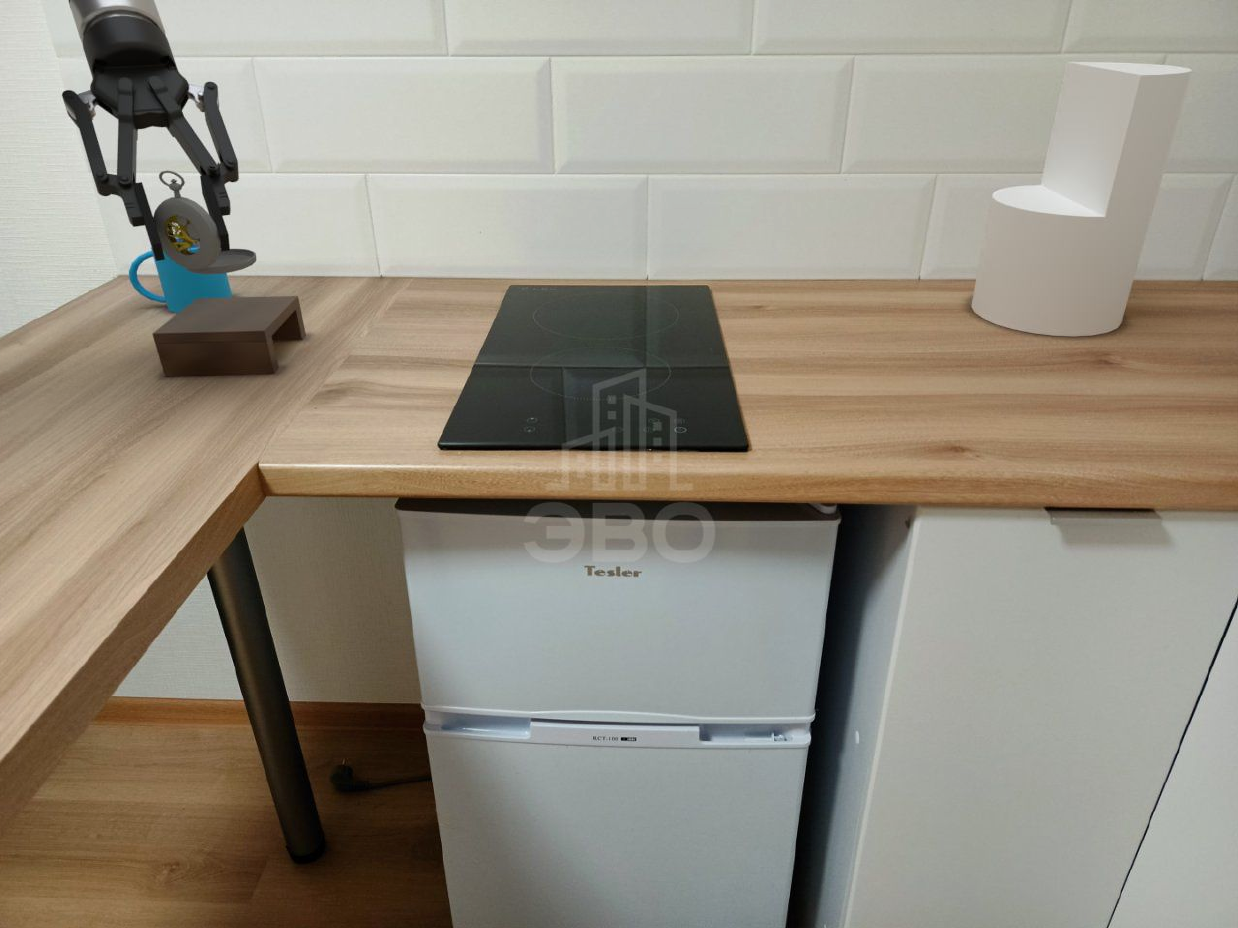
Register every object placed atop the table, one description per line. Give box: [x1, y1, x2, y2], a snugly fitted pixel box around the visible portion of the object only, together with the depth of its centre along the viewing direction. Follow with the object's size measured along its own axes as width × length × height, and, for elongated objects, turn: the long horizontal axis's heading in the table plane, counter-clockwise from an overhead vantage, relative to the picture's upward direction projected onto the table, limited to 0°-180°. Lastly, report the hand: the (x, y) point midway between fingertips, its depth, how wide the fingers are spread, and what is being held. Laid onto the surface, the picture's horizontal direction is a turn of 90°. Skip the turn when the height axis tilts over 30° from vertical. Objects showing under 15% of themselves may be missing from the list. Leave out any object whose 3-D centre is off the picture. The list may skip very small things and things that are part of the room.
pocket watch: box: [153, 170, 257, 274], centre depth 82 cm, size 8×8×10 cm
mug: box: [128, 237, 233, 314], centre depth 114 cm, size 12×8×8 cm
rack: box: [152, 295, 307, 377], centre depth 99 cm, size 12×12×5 cm
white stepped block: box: [970, 61, 1193, 338], centre depth 101 cm, size 17×17×28 cm
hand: (192, 247), depth 79 cm, fingers closed on pocket watch, 5 cm apart
